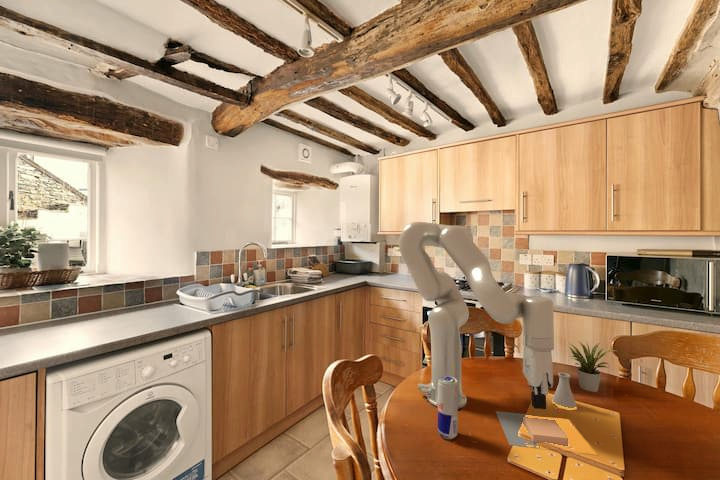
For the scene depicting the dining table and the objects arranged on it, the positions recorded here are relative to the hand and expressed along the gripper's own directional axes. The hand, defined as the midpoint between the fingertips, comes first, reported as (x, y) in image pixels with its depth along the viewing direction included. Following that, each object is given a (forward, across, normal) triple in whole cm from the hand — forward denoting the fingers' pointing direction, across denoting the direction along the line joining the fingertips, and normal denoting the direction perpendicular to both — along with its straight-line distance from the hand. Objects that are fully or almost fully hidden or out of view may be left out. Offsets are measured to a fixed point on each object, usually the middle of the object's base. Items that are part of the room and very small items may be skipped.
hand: (538, 407), depth 87 cm
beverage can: (+6, +8, -25) cm, 27 cm away
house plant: (+6, -29, +27) cm, 40 cm away
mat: (+6, +2, 0) cm, 6 cm away
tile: (+4, 0, 0) cm, 4 cm away
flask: (+6, -14, +12) cm, 19 cm away
